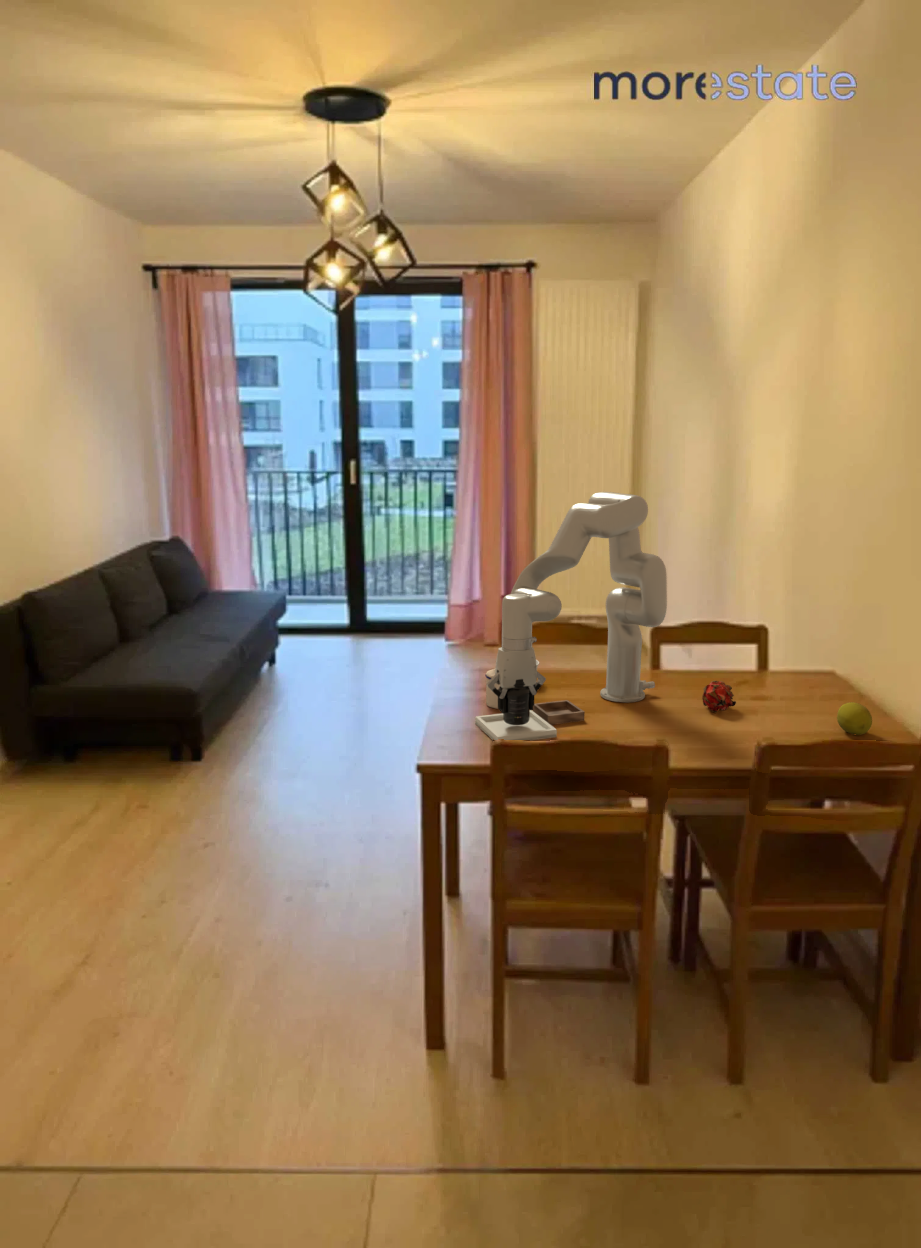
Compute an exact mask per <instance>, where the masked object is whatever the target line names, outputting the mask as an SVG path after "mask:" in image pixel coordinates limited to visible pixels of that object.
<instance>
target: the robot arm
mask: <svg viewBox="0 0 921 1248" xmlns="http://www.w3.org/2000/svg"><path fill="white" fill-rule="evenodd" d="M648 515H649V506H648V503H647V501H646V500H645V498H643V497H642V496H641V495H637V494H630V493H619V492H611V491H599V492H595V493H593V494H592V495H591V496H590V498H589V499H588V502H579V503H578V502H577V503H575V504H573V505H572V506H571V507H570V508H569V509H568V511H567V513H566V514H565V516H564V518H563V521H562V523H561V524H560V526H559V527H558V528H559V529H558V530H557V533H555V536H554V538H553V539H552V542H551V544H550V546H549V547H548V549H547V550H546V551H544V552H543V553H541V554H540V555H538V556H537V558H535V559H534V560H533V561H531V562H530V563H528V564H527V566H525V568H524V569H523V570H522V571H521V572H520V574H519V576H518V577H517V580H516V581H515V583H514V585H513V587H512V589H511V592H510V593H509V594H506V595H504V597H503V598H502V602H501V607H502V608H501V647H498V650H497V654H496V661H495V667H494V668H495V675H494V676H493V677H492V678H491V679H490V680H489V681H488V682H487V684H486V683H485V684H486V685H487V686H488V687H489V688H490V689H491V690H492V692H494V693H495V694H496V695H497V696H498V710H499V711H500V712H501V714H502V713H503V714H505V713H506V699H505V694H506V692H507V690H508V689H509V688H514V685H515V683H516V680H518V679H523V682H524V684H525V685H524V687H528V688H529V690H530V710H532V711H533V706H534V704H535V696H536V695H537V692H539V690H540V689H541V687H542V686H543V685H544V683H545V682H546V679H547V677H545V676H543V674H541V673H540V672H539V671H538V667H537V666H536V660H537V659H536V658H537V657H536V652H535V649H534V648H535V647H533V643H537V637H536V636H533V633H532V632H533V623H535V622H536V623H537V622H550V621H553V620H554V619H557V617H558V616H559V615H560V614H561V612H562V611H561V610H562V601H561V600H560V597H559V596H558V595H556V594H555V593H553V592H551V591H546V590H542V589H538V587H539V586H540V585H541V584H542V583H543V582H544V581H545V580H546V579H548V578H549V577H551V576H553V575H556V574H559V573H562V572H564V571H567V570H570V569H572V568H575V567H577V565H578V564H579V562H580V561H581V559H582V556H583V554H584V552H585V550H586V549H587V547H588V545H589V544H590V543H589V542H590V541H591V539H592V538H599V539H608V552H609V555H608V556H609V571H610V572H609V573H610V577H611V579H612V580H613V582H616V583H617V584H621V585H624V586H628V587H623V586H622V587H616V588H613V590H611V591H610V592H609V593H608V594H607V597H606V599H605V614H606V618H607V620H606V621H607V630H608V631H607V655H606V656H607V659H606V677H605V678H606V680H605V683H606V684H605V687H604V688H602V689H601V690H600V692H599V693H600V694H599V695H600V696H601V698H603V699H605V700H608V701H610V702H615V703H635V702H640V701H642V700H644V699H645V697H646V693H645V692H644V691H645V690H646V689H654V688H656V684H655V681H647V680H641V668H642V666H641V665H642V645H643V637H642V636H643V635H642V631H641V628H640V626H641V627H646V628H656V627H659V626H661V624H662V623H663V622H664V620H665V618H666V614H667V610H668V609H667V607H668V601H667V600H668V597H667V596H668V593H667V592H668V591H667V587H668V586H667V584H668V583H667V578H668V577H667V569H666V565H665V563H664V561H663V559H662V558H661V557H660V556H658V555H656V554H654V553H646V552H642V549H641V548H642V547H641V536H640V530H639V527H640V526H641V525H642V524H643V523H644V522H645V521H646V519H647V518H648ZM631 587H635V588H636V589H635V588H631ZM637 588H639V589H637ZM495 683H496V684H500V686H499V688H498V689H496V687H495V686H494V684H495Z"/></svg>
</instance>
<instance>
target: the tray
mask: <svg viewBox="0 0 921 1248" xmlns="http://www.w3.org/2000/svg"><path fill="white" fill-rule="evenodd" d="M474 719H475V721H474V722H475V725H476V726H477V727H478V728H479V729H481V731H483V733H484V734H485V735H487V737H489V738H490V739H491V740H492V741H493V739H494V740H498V739H504V740H530V741H538V740H544V739H552V738H557V737H558V735H557V733H558V731H557V730H558V729H556V728H555V727H554V725H550V724H549V723H547V722H546V721H545V720H544V719H542V718H541V717H540V716H538V715H537V714H536V713H535V712H533V710H530V719H529V722H528V723H526V724H523V725H510V724H507V723H505V722H504V720H503V713H502V712H501V713H493V714H487V715H485V714H484V715H476V716H475V717H474Z"/></svg>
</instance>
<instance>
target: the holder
mask: <svg viewBox="0 0 921 1248" xmlns="http://www.w3.org/2000/svg"><path fill="white" fill-rule="evenodd" d="M532 711H533V712H535V713H536V714H537V715H538V716H540V717H541V718H542V719H544V720H545V721H546V722H547V723H549V724H550V725H551V726H554V725H559V724H567V723H568V724H569V723H577V722H584V721H585V715H586V714H585V712H586V711H585V710H583V709H582V708H580V707H579V706H577V705H575V704H574V703H573V702H571V701H569V700H568V699H564V700H556V701H555V700H554V701H546V702H538V703H534V706H533V710H532Z"/></svg>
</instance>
